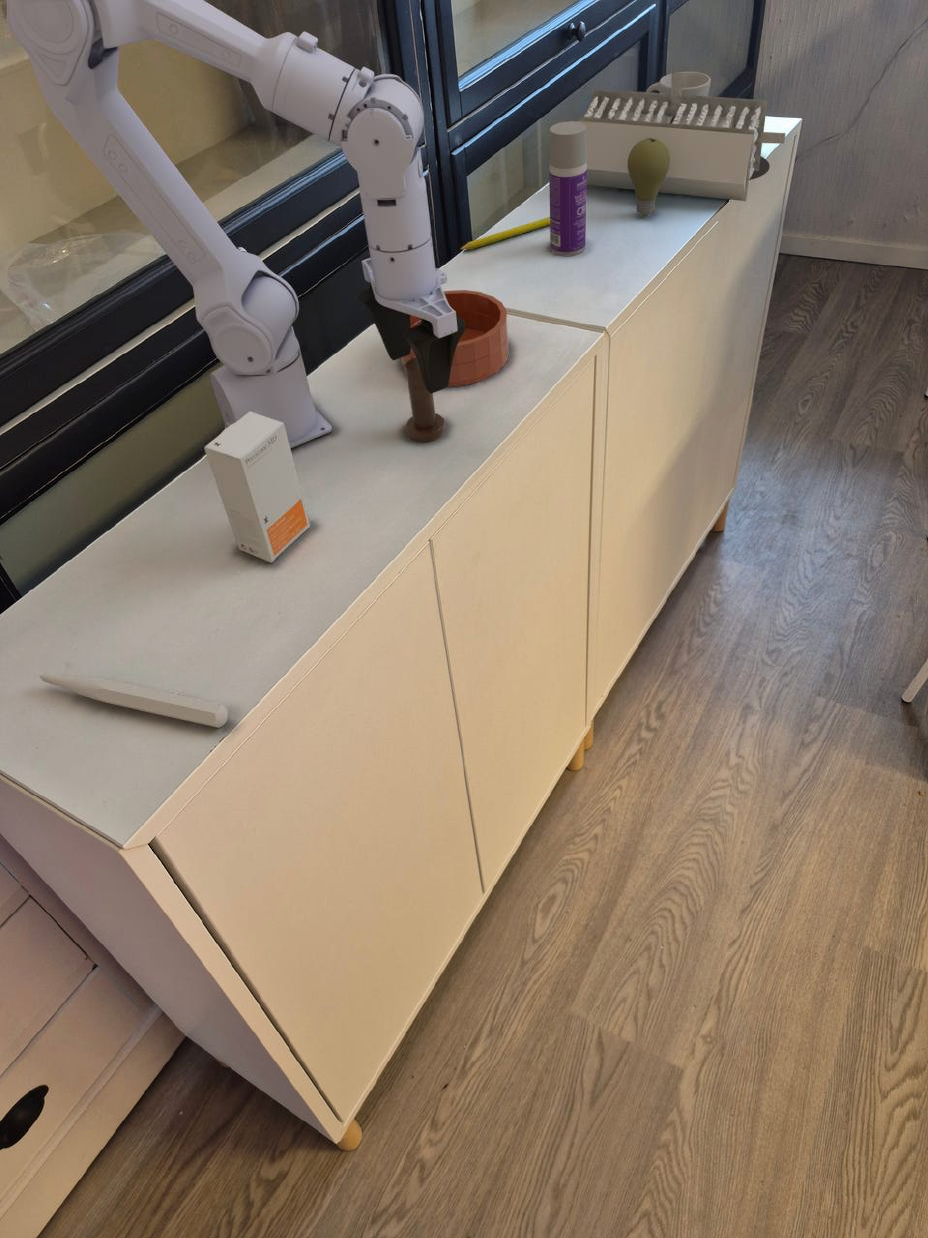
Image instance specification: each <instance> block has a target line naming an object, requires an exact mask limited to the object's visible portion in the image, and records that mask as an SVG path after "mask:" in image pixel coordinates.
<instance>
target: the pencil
mask: <svg viewBox="0 0 928 1238" xmlns="http://www.w3.org/2000/svg"><path fill="white" fill-rule="evenodd" d="M547 226H550V216H548V217H545V218H542V219H538V220H535V221H532V222H529V223H526V224H523V225H520V226H516V227H513V228H510V229H507V230H504V231H500V232H497V233H494V234H491V235H488V236H484V237H480V238H478V239H475V240H472V241H468V242H467V243H466V244H465V245H462V247H460V250H466V251H467V250H468V251H472V250H475V249H479V248H481V247H484V246H488V245H491V244H493V243H497V242H499V241H503V240H507V239H510V238H513V237H516V236H519V235H522V234H525V233H528V232H531V231H535V230H538V229H541V228H545V227H547Z"/></svg>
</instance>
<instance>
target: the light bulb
mask: <svg viewBox="0 0 928 1238" xmlns="http://www.w3.org/2000/svg"><path fill="white" fill-rule="evenodd" d="M669 166H670V154H669V151H668V149H667V147H666V146H665V144H664V143H663V142H661V141H660V140H658V139H655V138H647V139H644V140H641V141H640V142H638V143H637V144H636V145H635V146H634V147H633V148H632V150H631V152H630V154H629V157H628V172H629V175H630V177H631V180H632V182H633V185H634V188H635V189H634V194H635V197H636V208H635V209H636V213H637V214H639V215H640V216H641V218H647V217H649V216H650V215H651V214H653V213H654V212H655V202H656V198H657V196H658V194H659V193H660V192H659V188H660V185H661V183H662V181H663V180H664V178H665V176H666V174H667V172H668V169H669Z"/></svg>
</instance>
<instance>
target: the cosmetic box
mask: <svg viewBox="0 0 928 1238" xmlns="http://www.w3.org/2000/svg"><path fill="white" fill-rule="evenodd" d="M203 449H204V452H205V455H206V459H207V460H208V463H209V467H210V469H211V470H210V471H211V472H212V476H213V479H214V481H215V484H216V487H217V490H218V493H219V496H220V498H221V501H222V505H223V507H224V510H225V513H226V516H227V518H228V522H229V524H230V525H229V526H230V527H231V530H232V534H233V535H234V536H233V537H234V539H235V542H236V545H237V548H238V549H239V550H240V551H241V552H243V553H246V554H249V555H251V556H253V557H256V558H259V559H261V560H263V561H264V562H268V563H271V564H272V563H273V562H274V561H275V560H276V559H277V558H278V557H279V556H280V555H281V554H282V553H283V552H285V551H286V549H288V548H289V546H291V545H292V544H293V543H294V542H295V541H296V540H297V539H298V538H299V537H300V536H302V535H303V534H304V533H305V532H306V531H307V530H308V529H309V528H310V527H311V523H310V520H309V515H308V512H307V511H308V510H307V507H306V504H305V500H304V496H303V491H302V487H301V485H300V484H301V483H300V481H299V477H298V473H297V468H296V465H295V462H294V457H293V454H292V450H291V449H292V448H290V445H289V441H288V438H287V434H286V430H285V426H284V423H283V422H280V421H277V420H274V419H271V418H268V417H265V416H262V415H259V414H256V413H253V412H248V413H247V414H246V415H244V416H243V417H242V418H241V419H239V420H238V421H237V422H235V423H233V424H231V425H230V426H229V427H228V428H226V429H225V428H224V430H222V432H221V433H220V434H219V435H217V436H216V437H215V438H214V439H212V440H211V441H210V442H208V444H206V445H205V446H204V447H203Z"/></svg>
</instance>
